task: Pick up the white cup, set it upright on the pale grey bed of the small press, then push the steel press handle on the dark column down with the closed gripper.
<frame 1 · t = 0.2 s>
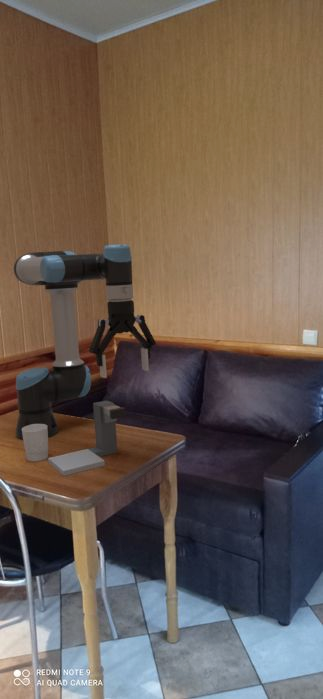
hand: (125, 373, 154), 28 cm above the table, tool pointing down, fingers open, 13 cm apart
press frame: (76, 464, 161), on the table
press handle: (113, 415, 163), point 14 cm above the table, slide at 0.0 cm
white cup: (37, 458, 169), on the table
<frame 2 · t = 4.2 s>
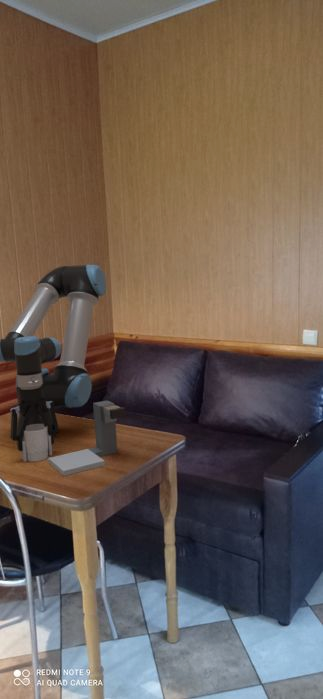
hand: (37, 457, 168), 0 cm above the table, tool pointing down, fingers closed on white cup, 7 cm apart
white cup: (37, 458, 168), on the table, touching gripper
everything else where it was.
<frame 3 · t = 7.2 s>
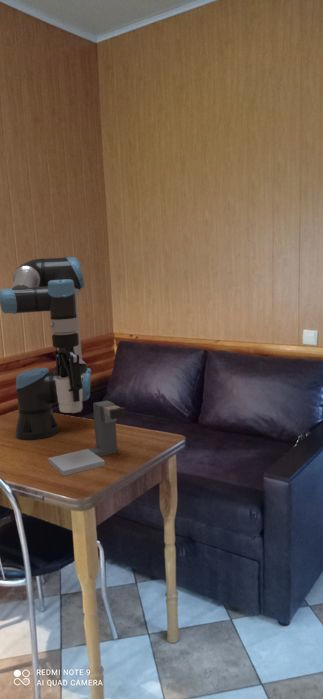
hand: (71, 409, 159), 17 cm above the table, tool pointing down, fingers closed on white cup, 7 cm apart
white cup: (71, 410, 159), point 17 cm above the table, touching gripper
everything else where it was.
when the fingers open (3 cm above the table, at t = 10.2 s): white cup drops 1 cm, resting on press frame.
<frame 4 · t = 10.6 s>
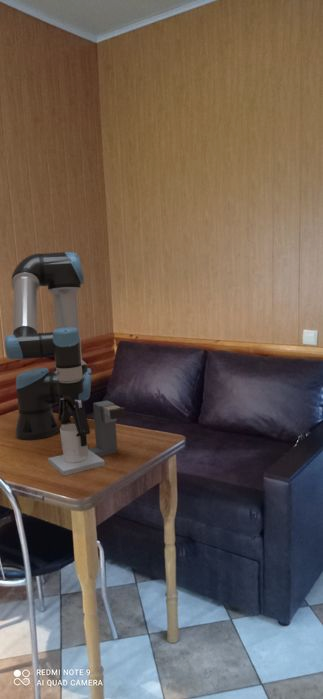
hand: (75, 450, 161), 4 cm above the table, tool pointing down, fingers open, 12 cm apart
white cup: (75, 459, 162), point 1 cm above the table, touching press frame
everything else where it was.
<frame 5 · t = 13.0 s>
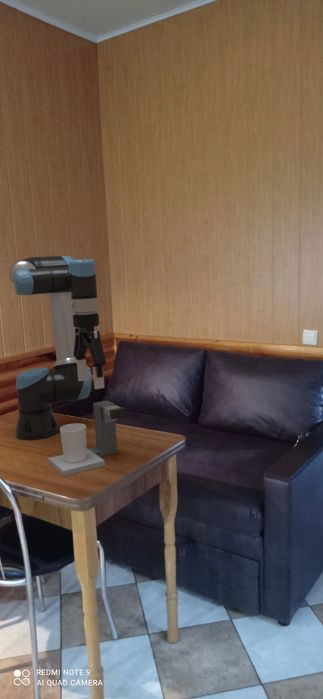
hand: (90, 384, 159), 24 cm above the table, tool pointing down, fingers open, 13 cm apart
nothing on the table moved.
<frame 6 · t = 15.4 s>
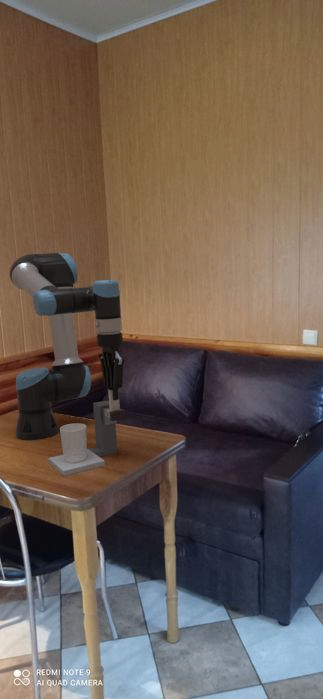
hand: (114, 409, 161), 16 cm above the table, tool pointing down, fingers closed
press handle: (113, 417, 163), point 13 cm above the table, slide at 0.6 cm, touching gripper
everything else where it was.
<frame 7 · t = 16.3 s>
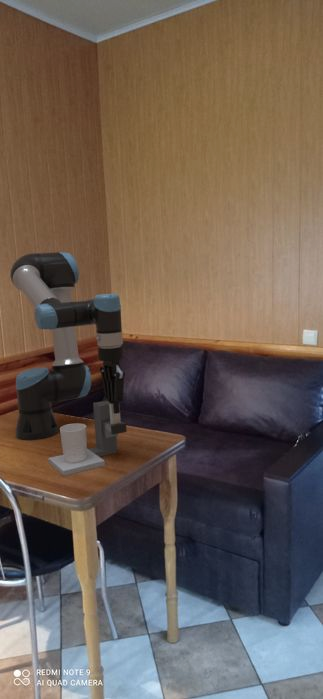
hand: (115, 422, 162), 12 cm above the table, tool pointing down, fingers closed
press handle: (114, 430, 164), point 9 cm above the table, slide at 4.8 cm, touching gripper
everything else where it was.
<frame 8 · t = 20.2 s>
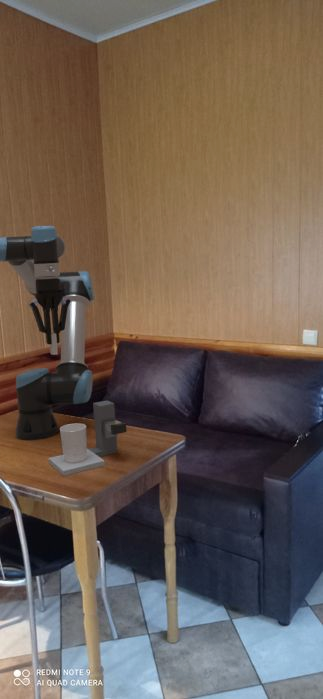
hand: (54, 354, 166), 32 cm above the table, tool pointing down, fingers closed
press handle: (114, 430, 164), point 9 cm above the table, slide at 4.8 cm
everything else where it was.
at the end: white cup inside the target area on the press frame (0.4 cm from its centre), point 1.3 cm above the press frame's base; white cup tilted 0°; press handle slide at 4.8 cm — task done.
